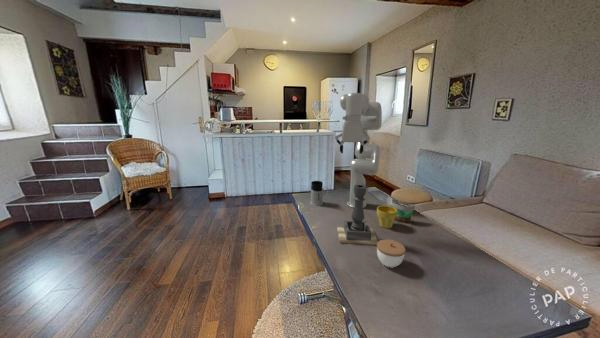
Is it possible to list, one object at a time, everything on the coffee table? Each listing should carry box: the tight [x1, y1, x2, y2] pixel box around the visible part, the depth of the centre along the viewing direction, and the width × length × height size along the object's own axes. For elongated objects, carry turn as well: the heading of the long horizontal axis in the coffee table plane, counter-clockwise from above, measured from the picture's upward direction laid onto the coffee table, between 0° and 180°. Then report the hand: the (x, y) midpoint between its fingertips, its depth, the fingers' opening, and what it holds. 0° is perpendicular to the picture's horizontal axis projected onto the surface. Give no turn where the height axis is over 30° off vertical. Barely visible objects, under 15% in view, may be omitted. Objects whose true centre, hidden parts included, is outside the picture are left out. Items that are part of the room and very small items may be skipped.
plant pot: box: [376, 205, 397, 229], centre depth 124 cm, size 10×10×10 cm
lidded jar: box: [376, 239, 406, 269], centre depth 93 cm, size 11×11×9 cm
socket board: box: [336, 220, 379, 245], centre depth 113 cm, size 13×18×6 cm
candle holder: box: [350, 184, 367, 231], centre depth 110 cm, size 6×6×25 cm
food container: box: [391, 201, 416, 224], centre depth 129 cm, size 12×6×10 cm, turn 68°
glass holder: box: [309, 180, 329, 207], centre depth 152 cm, size 9×14×15 cm, turn 43°
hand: (351, 153), depth 117 cm, fingers open, 9 cm apart
